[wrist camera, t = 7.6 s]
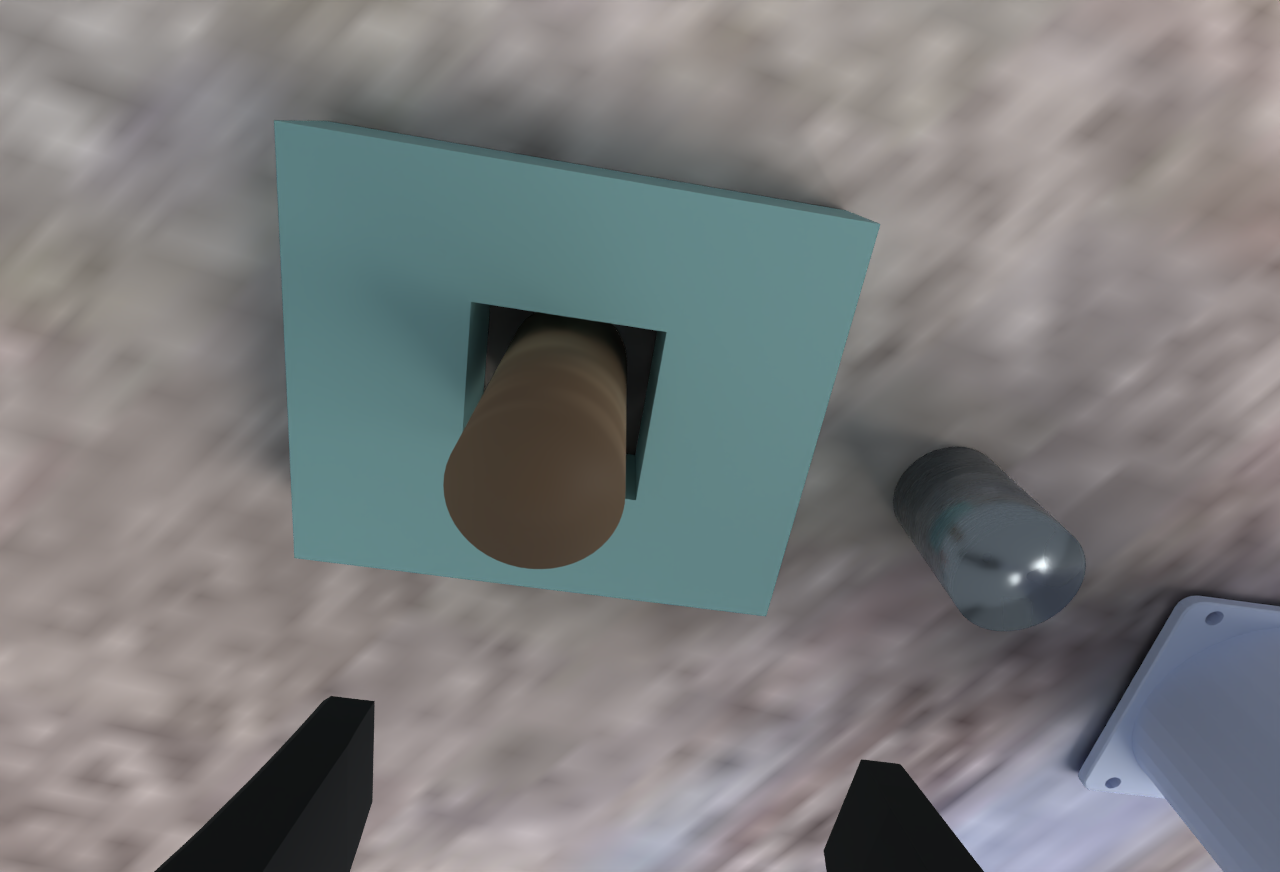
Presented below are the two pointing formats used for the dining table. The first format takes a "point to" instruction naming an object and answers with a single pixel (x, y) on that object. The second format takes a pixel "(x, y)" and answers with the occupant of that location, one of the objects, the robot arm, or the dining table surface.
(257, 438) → the dining table surface
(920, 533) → the metal stub
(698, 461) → the hole block
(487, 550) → the walnut dowel
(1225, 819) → the robot arm
